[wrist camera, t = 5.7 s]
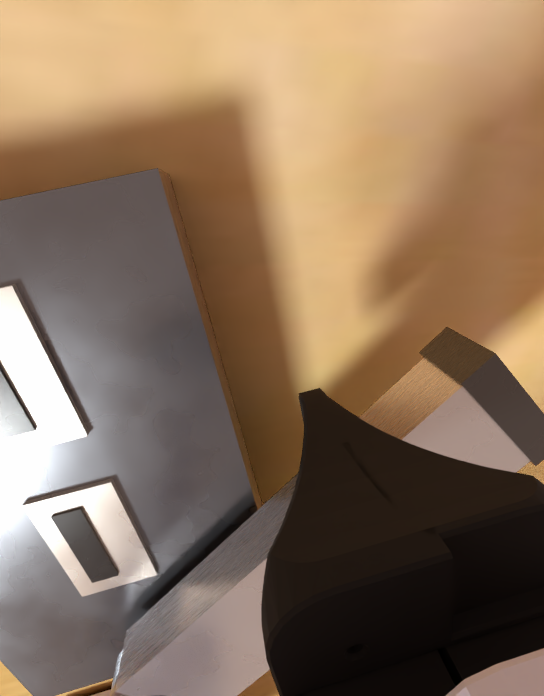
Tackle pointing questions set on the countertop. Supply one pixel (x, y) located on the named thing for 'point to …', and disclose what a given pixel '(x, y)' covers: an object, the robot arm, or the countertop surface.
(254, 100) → the countertop surface
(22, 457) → the plate
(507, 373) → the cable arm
